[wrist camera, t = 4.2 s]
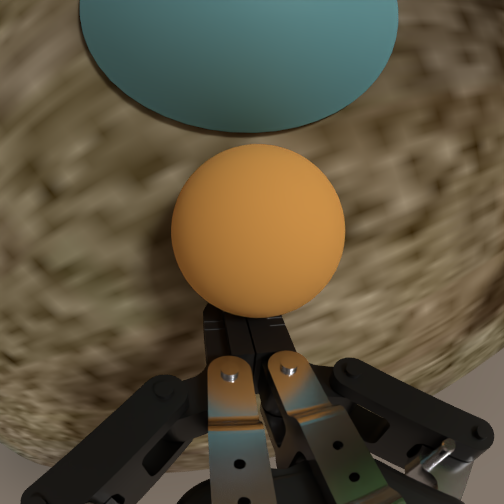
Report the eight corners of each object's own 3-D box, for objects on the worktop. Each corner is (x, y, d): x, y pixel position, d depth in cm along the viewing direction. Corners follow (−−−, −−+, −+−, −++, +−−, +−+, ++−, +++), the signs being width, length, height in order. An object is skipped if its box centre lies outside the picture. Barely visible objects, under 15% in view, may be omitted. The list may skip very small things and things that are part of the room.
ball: (167, 356, 7) (157, 138, 6) (180, 274, 13) (180, 143, 11) (355, 346, 8) (393, 158, 6) (303, 273, 13) (316, 150, 12)
